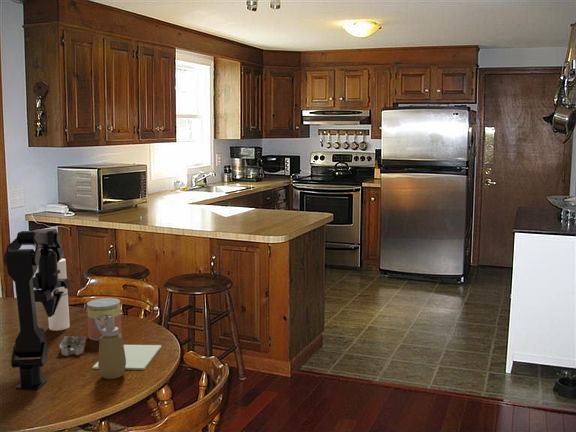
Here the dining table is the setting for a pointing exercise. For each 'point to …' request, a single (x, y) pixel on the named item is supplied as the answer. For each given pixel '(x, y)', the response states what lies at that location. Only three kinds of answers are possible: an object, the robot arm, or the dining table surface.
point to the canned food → (102, 316)
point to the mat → (138, 356)
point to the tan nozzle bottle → (111, 352)
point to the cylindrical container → (61, 303)
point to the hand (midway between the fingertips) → (51, 316)
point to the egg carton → (72, 345)
